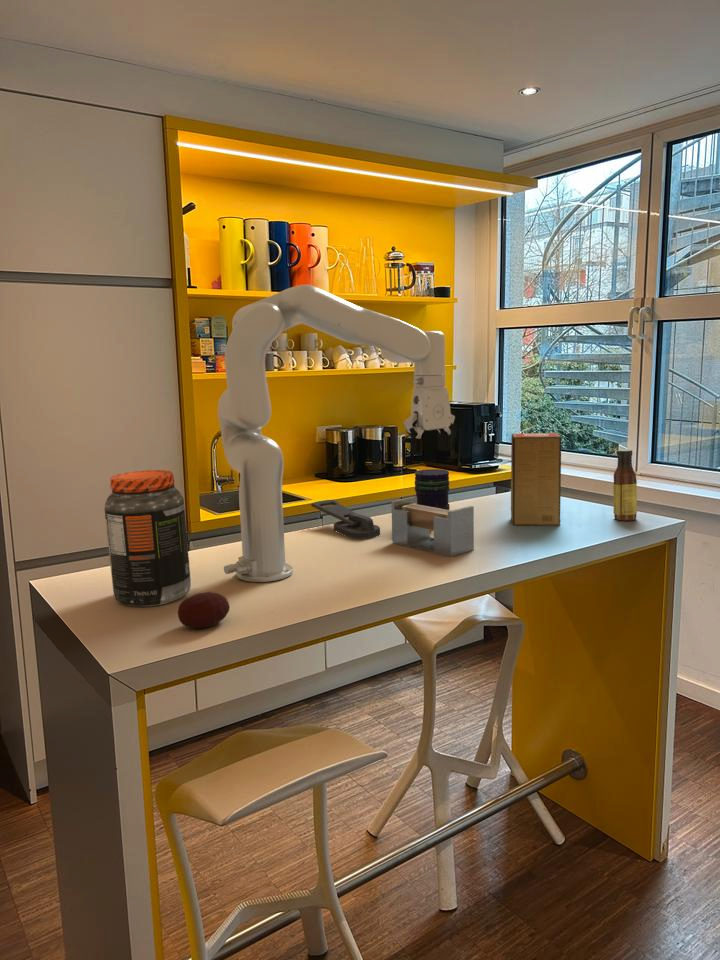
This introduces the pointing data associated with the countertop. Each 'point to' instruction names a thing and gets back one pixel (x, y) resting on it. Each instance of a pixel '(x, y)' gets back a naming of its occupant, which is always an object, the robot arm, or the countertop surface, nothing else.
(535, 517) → the food packaging
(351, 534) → the zipper pull
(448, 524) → the grey cradle stand
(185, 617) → the potato
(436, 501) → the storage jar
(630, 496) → the sauce bottle
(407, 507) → the brown rectangular block
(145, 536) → the supplement tub
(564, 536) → the countertop surface
